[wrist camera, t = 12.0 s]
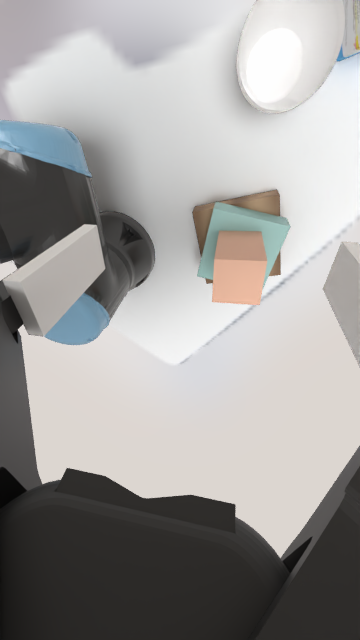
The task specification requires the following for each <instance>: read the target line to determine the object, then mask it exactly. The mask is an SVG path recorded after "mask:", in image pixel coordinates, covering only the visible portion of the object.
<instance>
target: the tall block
mask: <svg viewBox="0 0 360 640" xmlns="http://www.w3.org/2000/svg"><path fill="white" fill-rule="evenodd" d="M266 266H267V257H266V252H265V247H264V242H263V237H262V232H261V231H220V230H219V234H218V240H217V246H216V251H215V257H214V274H213V295H212V302H220V303H235V304H251V305H260V299H261V294H262V288H263V283H264V277H265V272H266Z"/></svg>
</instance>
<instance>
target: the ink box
mask: <svg viewBox="0 0 360 640" xmlns="http://www.w3.org/2000/svg"><path fill="white" fill-rule="evenodd" d="M343 5H344V12H345V28H344V36H343V41H342V45H341V49H340V52H339V55H338V57H337V61H341V60H344V59H346V58H349V57H351V56H354V55H356V54H358V53H360V0H343Z"/></svg>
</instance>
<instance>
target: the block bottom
mask: <svg viewBox="0 0 360 640" xmlns="http://www.w3.org/2000/svg"><path fill="white" fill-rule="evenodd" d="M220 203H225V204H229V205H233V206H237V207H242V208H246V209H250V210H254V211H259V212H263V213H267V214H271V215H276V216H280V195H279V193H278V191H277V190H273V191H268V192H263V193H258V194H254V195H249V196H244V197H239V198H234V199H230V200H225V201H220ZM214 205H215V203H210V204H206V205H201V206H196V207H195V208H194V210H193V212H192V213H193V218H194V223H195V228H196V233H197V238H198V243H199V248H200V253H201V258H202V254H203V250H204V246H205V242H206V238H207V233H208V229H209V225H210V221H211V217H212V213H213V209H214ZM274 275H281V272H280V251H279V254H278V256H277V258H276V260H275V263H274V265H273V267H272V269H271V272H270V274H269V276H274ZM206 283H207V284H208V283H213V280H211V279H207V278H206Z"/></svg>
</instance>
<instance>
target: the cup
mask: <svg viewBox="0 0 360 640" xmlns="http://www.w3.org/2000/svg"><path fill="white" fill-rule="evenodd" d="M344 28H345V12H344V5H343V0H256V2H255V3H254V5H253V7H252V8H251V10H250V12H249V14H248V17H247V19H246V22H245V24H244V27H243V30H242V34H241V37H240V40H239V44H238V50H237V60H236V67H237V77H238V82H239V85H240V88H241V91H242V93H243V95H244V96H245V98H246V99H247V101H248V102H249V103H250V104H251V105H252V106H253V107H255V108H256V109H258V110H259V111H262V112H265V113H270V114H278V113H283V112H286V111H289V110H291V109H294V108H295V107H297V106H299V105H300V104H301V103H303V102H304V101H306V100H307V99H308V98H310V97H311V96H312V95H313V94H314V93H315V92H316V91H317V90H318V89H319V88H320V87H321V85H322V84H323V83H324V81H325V80H326V78H327V77H328V75H329V74H330V72H331V70H332V68H333V66H334V64H335V62H336V60H337V57H338V55H339V52H340V49H341V45H342V41H343V36H344Z"/></svg>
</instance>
